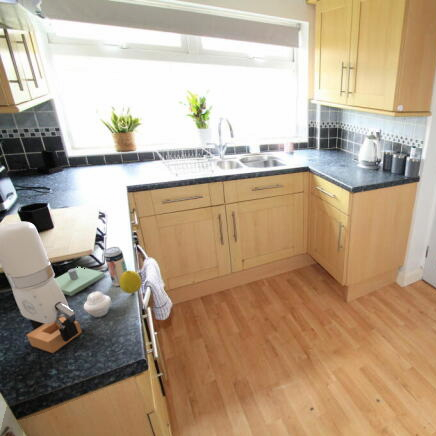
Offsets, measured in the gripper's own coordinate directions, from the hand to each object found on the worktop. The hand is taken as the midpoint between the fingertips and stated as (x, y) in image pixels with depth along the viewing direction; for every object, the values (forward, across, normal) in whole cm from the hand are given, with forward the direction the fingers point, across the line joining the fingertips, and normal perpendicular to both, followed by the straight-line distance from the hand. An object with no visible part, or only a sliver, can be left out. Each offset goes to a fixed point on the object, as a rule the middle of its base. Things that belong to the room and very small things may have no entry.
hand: (56, 332), depth 79 cm
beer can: (+2, -6, +23) cm, 24 cm away
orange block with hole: (+2, 0, 0) cm, 2 cm away
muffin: (+2, +1, +10) cm, 11 cm away
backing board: (+2, -19, +19) cm, 27 cm away
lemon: (+2, +2, +20) cm, 20 cm away
